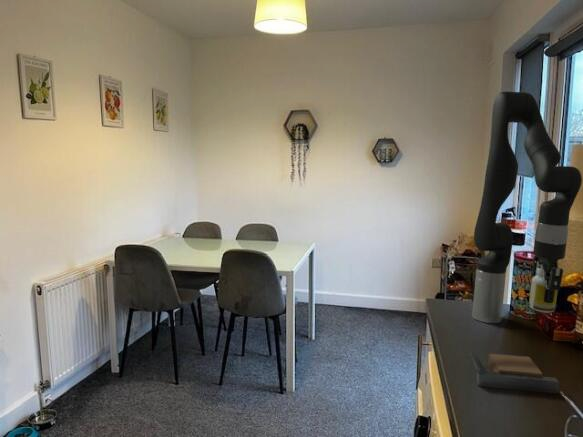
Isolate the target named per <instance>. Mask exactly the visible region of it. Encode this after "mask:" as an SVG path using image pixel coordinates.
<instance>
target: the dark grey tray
mask: <svg viewBox="0 0 583 437" xmlns="http://www.w3.org/2000/svg"><path fill="white" fill-rule="evenodd" d="M523 357H528V356H526V355H523ZM469 358H470V360H471V362H472V364H473V367H474V368H475V370H476V379H475V380H476V381H475V382H476V384H477V386H478V387H487V388H498V389H505V390H506V389H507V390H517V391H527V392H538V393H546V394H558V392H559V391H558V390H559V386H560V385H559V383H560V381H558V379H557V377H550V376H543V377H542V376H531V375H521V374H510V373H500V372H491V371H490V370H489V371H486V370H484V368H483V366H482V365H481V363H480V361H479V359H478V357H477V355H476V354H475V352H474V351H469Z"/></svg>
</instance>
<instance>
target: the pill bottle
mask: <svg viewBox="0 0 583 437" xmlns="http://www.w3.org/2000/svg"><path fill="white" fill-rule="evenodd" d="M536 272H537V276H532V278H531V284H530V285H531V286H530V292H529V293H530V294H529V302H528V306H529V308H530V309H531V310H534V311H536V312H539V313H545V314H546V313H547V314H549V313H550V314H551V313H554V312H555V311H556V307H557V298H558V291H559V290H555V293H554V300H553V303H545V302H544V293H545V281H543V278H542V270H541V268H537V271H536ZM548 278H550V277H548ZM548 282H549V281H548ZM556 284H557V282H556Z"/></svg>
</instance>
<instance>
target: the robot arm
mask: <svg viewBox="0 0 583 437" xmlns="http://www.w3.org/2000/svg"><path fill="white" fill-rule="evenodd" d="M491 112H492V113H491V114H492V115H491V125H490V126H491V127H490V128H491V129H490V130H491V132H490V142H489V143H490V144H489V151H488V158H487V164H486V169H485V176H484V182H483V183H484V184H483V190H482V197H481V201H480V207H479V212H478V216H477V219H476V223H475V227H474V231H473V242H474V245H475V247H476V248H477V249H478V250H479V251H481V252H487V254H486V255H484V256H483V257H480V258H479V259H478V260H477V261H476V269H475V270H476V271H475V281H474V282H475V283H474V291H473V292H474V293H473V301H472V302H473V303H472V314H471V315H472V318H473V319H474V320H475V321H476V320H477V321H479V322H482V323H487V324H497V323H501V322H502V317H503V306H504V297H505V286H506V277H507V269H508V266H509V265H510V262H511V255H512V249H513V242H514V234H513V230H512V228H511V226H510V225H508V224H506V223H503V222H497V218H498V215H499V211H500V210H501V208H502V206H503V205H504V203H505V202H506V201H507V200H508V198H509V197H510V196H511V193H513V190H514V189H515V187H516V182H517V177H518V173H519V172H518V170H519V162H518V159H517V156H516V154H515V152H514V150H513V147H512V146H511V143H510V140H509V123H514V124H515V123H517V124H518V123H521V124H522V125H523V126H524V127H525V128H526V130H527V132H526V134H525V137H524V142H523V146H524V151H525V152H526V155H527V157H528V158H529V160H530V162H531V164H532V166H533V167H532V168H533V173H534V174H533V175H534V181H535V182H534V183H535V185H536V186H537V188H538V189H539V190H540V191H542V192H544V193H556V195H555V196H554V198H553V199H551V200H546V201H543V202H542V203H541V204H540V206H539V211H538V212H539V213H538V219H537V220H538V221H537V225H536V229H535V236H534V244H533V251H532V254H533V255H534V256H533V261H532V262H533V263H532V273H531V276H532V277H534V276H537V272H536V271H537V268H541V270H542V278H543V281H545V293H544V302H545V303H553V300H554V293H555V290H558V291H560V289H561V284H562V280H563V276H564V275H563V273H564V270H563V269H564V268H559V264H558V261H559V260H563V259H565V256H566V251H567V244H568V236H569V221H570V220H569V219H570V212H571V209H572V207H573V206H574V203H575V200H576V197H577V195H578V194H579V191H580V189H581V186H582V180H583V178H582V173H581V171H580V170H579V169H578V167H575V166H568V165H566V166H565V165H559V164H560V162H561V161H562V160H561V159H562V157H561V156H562V155H561V152H560V151H559V150H558V148H557V147H556V145H555V143H554V142H553V140H552V138H551V136H550V135H549V133H548V131H547V129H546V125H545V122H544V119H543V117H542V114H541V111H540V108H539V106H538V102H537V100H536V98H535V97H534V95H532V93H528V92H523V91H521V92H520V91H500V92H498V93H497V95H496V97H495V98H494V101H493V105H492V111H491ZM558 165H559V166H558ZM548 277H550V278H548ZM548 281H549V282H548ZM556 282H557V284H556Z"/></svg>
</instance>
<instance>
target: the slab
mask: <svg viewBox="0 0 583 437" xmlns="http://www.w3.org/2000/svg"><path fill="white" fill-rule="evenodd" d="M523 356H524V355H523ZM523 356H521V355H509V354H500V353H499V354H498V353H488V360H487V361H488V363H487V367H488V369H489V372H500V373H510V374H521V375H531V376H542V377H544V376H543V375H544V374H543V372H542V371H541V370H540V369H539V368H538V366H537V365H536V363H535V362H534V361H533V359H531V357H530V356H527V357H523Z"/></svg>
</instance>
